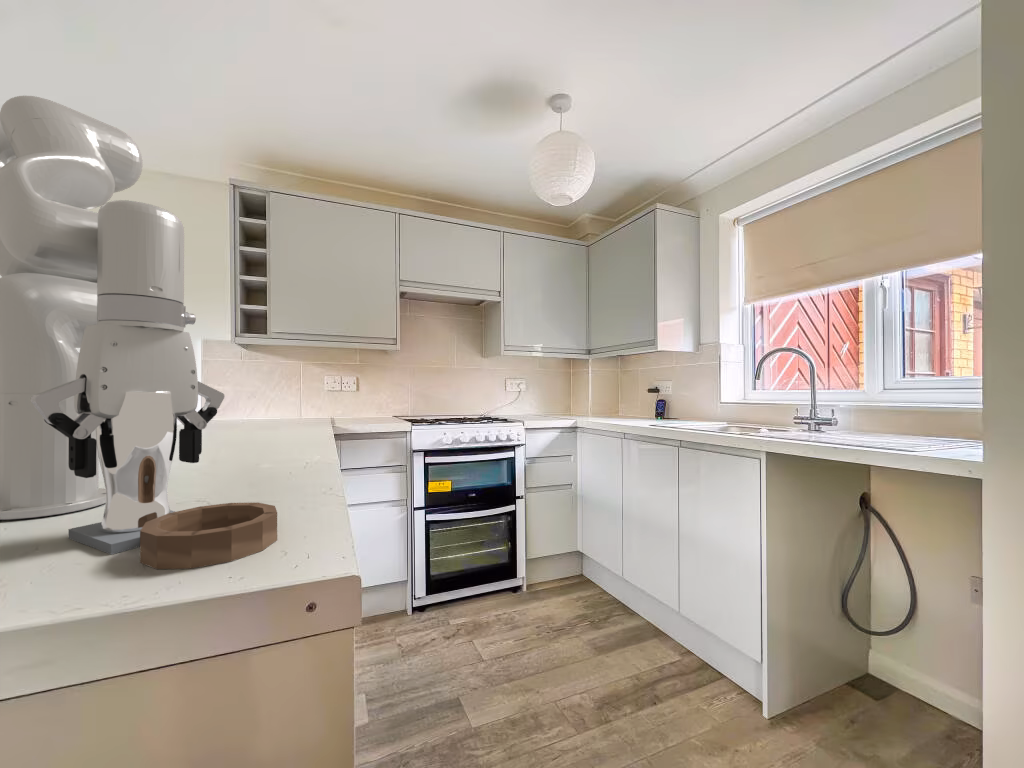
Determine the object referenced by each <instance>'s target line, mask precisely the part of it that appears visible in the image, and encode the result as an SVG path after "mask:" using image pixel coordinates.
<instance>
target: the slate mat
mask: <svg viewBox="0 0 1024 768" xmlns="http://www.w3.org/2000/svg"><path fill="white" fill-rule="evenodd" d="M170 511H171V513H173V512H176V511H175V510H171V509H170ZM101 523H102V521H101V522H96V523H91V524H85V525H82V526H78V527H77V526H76V527H72V528H68V536H67V537H68V539H69V540H72V541H75V542H77V543H80V544H83V545H85V546H88V547H90V548H93V549H96V550H99V551H101V552H104V553H106V554H108V555H114V554H119V553H122V552H125V551H131V550H133V549H137V548H140V531H134V532H126V533H105V532H103V531H101Z"/></svg>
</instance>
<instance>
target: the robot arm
mask: <svg viewBox="0 0 1024 768" xmlns="http://www.w3.org/2000/svg"><path fill="white" fill-rule="evenodd" d="M142 157H143V156H142V153H141V150H140V148H139V146H138V144H137V143H136V142H135V140H134V139H133V138H132V137H131V136H130V135H128V133H126V132H124V131H123V130H121V129H119V128H117V127H114V126H112V125H111V124H107V123H105V122H103V121H100V120H98V119H96V118H94V117H92V116H89V115H87V114H84V113H82V112H79V111H78V110H75V109H73V108H71V107H68V106H66V105H64V104H61V103H58V102H56V101H53V100H50V99H47V98H44V97H39V96H36V95H35V96H34V95H18V96H14V97H10V98H9V99H7V100H6V101H5V102H4V103H3V104H2V106H1V107H0V276H1V277H0V521H9V520H23V519H34V518H41V517H48V516H56V515H62V514H67V513H73V512H77V511H82V510H87V509H90V508H95V507H98V506H102V505H104V504H106V489H105V488H99V470H100V469H99V465H100V461H99V457H98V451H97V441H96V428H97V427H98V426H99V425H100V424H101V423H102V422H103V421H104V420H105V419H106V418H114V417H116V416H118V415H119V412H120V409H121V407H122V404H123V402H124V399H125V395H126V392H172V393H171V394H172V400H173V404H174V409H175V413H176V415H177V421H179V422H180V423H181V424H182V425H183V428H180V430H179V432H178V435H179V436H178V454H179V455H178V460H179V461H181V463H182V462H183V463H189V464H197V463H199V462H200V455H201V454H202V452H203V447H202V446H203V430H204V429H206V428H207V426H208V423H209V422H210V421H211V420H213V419H214V417H215V416H216V415H217V414H218V409H219V408H220V406H221V405H222V403H223V401H224V399H225V394H224V393H223V392H222V391H219V390H217V389H215V388H214V387H211V386H209V385H207V384H205V383H203V382H200V381H199V380H198V372H197V371H198V369H197V363H196V356H195V350H194V346H193V345H194V344H193V342H192V339H191V334H190V332H188V331H185V330H184V329H185V328H186V326H187V325H195V323H196V320H197V319H196V318H197V317H196V314H194V313H189V312H188V311H186V306H185V229H184V228H185V227H184V225H183V224H184V223H182V221H181V219H180V218H179V217H178V216H177V215H176V214H174V213H173V212H172V211H169V210H167V209H165V208H163V207H160V206H157V205H153V204H151V203H150V204H149V203H146V202H142V201H134V200H129V199H128V200H126V199H125V200H122V199H115V200H111V198H112V196H113V195H114V193H115V194H116V193H118V192H122V191H123V192H124V191H125V190H127V189H130V188H131V187H133V186H134V185H135V184H136V183H137V182H138V181H139V179H140V177H141V175H142V171H143V158H142ZM98 207H99V210H98V212H96V211H92V210H93V209H96V208H98ZM77 349H79V351H78V350H77ZM199 396H200V397H202V398H204V399H205V402H204V406H203V407H201V408H200V409H199V410H198V411H197V410H196V409H197V407H198V403H199V402H198V401H199Z"/></svg>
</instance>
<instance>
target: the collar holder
mask: <svg viewBox="0 0 1024 768" xmlns="http://www.w3.org/2000/svg"><path fill="white" fill-rule="evenodd" d="M276 541H278V510H277V508H276V505H271V504H267V503H262V502H227V503H226V502H225V503H219V504H210V505H202V506H195V507H192V508H187V509H183V510H177V511H175V512H173V513H168V514H166V515H163V516H161V517H158V518H155V519H153V520H150V521H148V522H145V524H144V526H143V527H142V529H141V531H140V547H139V563H140V564H141V565H145V566H148V567H150V568H152V569H155V570H179V569H181V570H182V569H186V570H187V569H192V570H193V569H196V568H202V567H203V568H204V567H207V566H212V565H218V564H219V565H220V564H225V563H230V562H234V561H236V560H239V559H242V558H245V557H247V556H251V555H253V554H254V555H255V554H257V553H260V552H263V551H264V550H265V549H267V548H269V547H270V546H271V545H272V544H274V543H276Z"/></svg>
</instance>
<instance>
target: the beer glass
mask: <svg viewBox="0 0 1024 768" xmlns="http://www.w3.org/2000/svg"><path fill="white" fill-rule="evenodd" d="M171 393H172V392H126V395H125V399H124V402H123V404H122V407H121V409H120V412H119V415H118V416H116V417H114V418H106V419H105V420H104V421H103V422H102V423H101V424H100V425H99V426H98V427H97V428H96V441H97V451H98V457H99V465H100V469H101V474H102V479H103V483H104V487H105V488H104V489H106V503H105V507H104V511H103V516H102V519H101V522H102V523H101V531H103V532H105V533H126V532H134V531H141V529H142V527H143V526H144V524H145V522H148V521H150V520H153V519H155V518H158V517H161V516H163V515H166V514H168V513H171V511H172V510H171V507H170V503H169V498H168V496H169V495H168V493H169V492H168V487H169V480H170V479H169V477H170V474H171V473H170V472H171V468H172V464H173V460H174V454H175V450H176V443H177V437H178V434H177V433H178V432H177V431H178V419H177V415H176V413H175V409H174V404H173V400H172V394H171ZM170 510H171V511H170Z"/></svg>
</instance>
